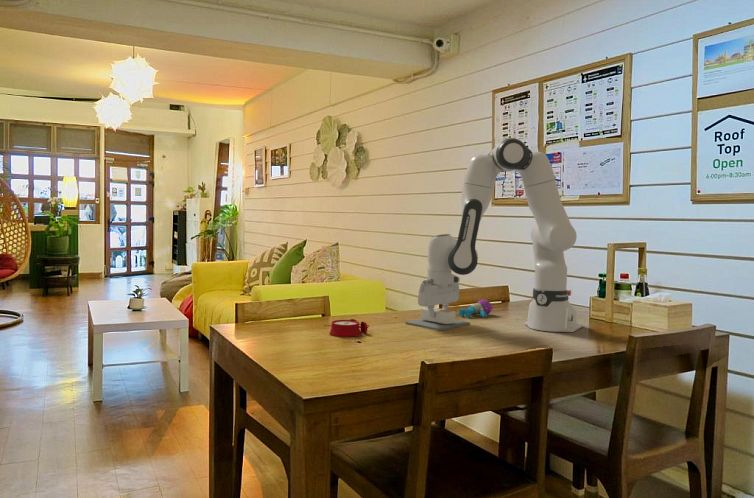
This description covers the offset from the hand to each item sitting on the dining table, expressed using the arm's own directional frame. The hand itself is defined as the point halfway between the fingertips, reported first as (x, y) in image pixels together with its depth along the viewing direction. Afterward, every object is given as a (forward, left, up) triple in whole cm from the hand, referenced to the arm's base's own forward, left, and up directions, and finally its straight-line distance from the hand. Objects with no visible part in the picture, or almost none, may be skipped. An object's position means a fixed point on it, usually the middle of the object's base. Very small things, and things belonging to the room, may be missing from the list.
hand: (438, 316), depth 218 cm
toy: (-26, -1, -3) cm, 26 cm away
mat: (0, 0, -3) cm, 3 cm away
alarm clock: (+36, -9, -3) cm, 37 cm away
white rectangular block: (0, 0, -2) cm, 2 cm away
